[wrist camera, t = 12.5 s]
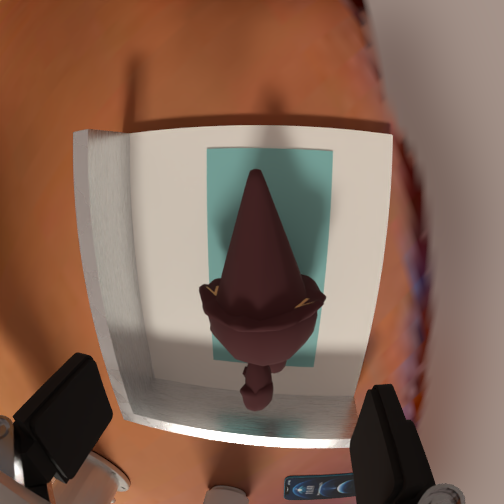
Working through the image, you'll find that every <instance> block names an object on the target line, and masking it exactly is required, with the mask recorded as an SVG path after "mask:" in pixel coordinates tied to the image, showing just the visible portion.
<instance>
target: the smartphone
mask: <svg viewBox="0 0 504 504" xmlns="http://www.w3.org/2000/svg"><path fill="white" fill-rule="evenodd" d="M352 496H356V493H355V485H354V477H353V473H347V474H335V475H310V476H289V477H286V478H285V483H284V498H285V499H287V500H314V499H331V498H342V497H352Z"/></svg>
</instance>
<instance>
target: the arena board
mask: <svg viewBox="0 0 504 504" xmlns="http://www.w3.org/2000/svg"><path fill="white" fill-rule="evenodd" d="M392 139H393V135H391V134H383V133H375V132H367V131H358V130H348V129H336V128H323V127H306V126H278V125H235V126H207V127H190V128H176V129H165V130H155V131H146V132H137V133H130V186H131V207H132V223H133V236H134V247H135V257H136V266H137V275H138V283H139V290H140V298H141V304H142V311H143V317H144V323H145V329H146V335H147V341H148V346H149V351H150V356H151V361H152V366H153V371H154V375H155V378H159V379H164V380H169V381H174V382H180V383H186V384H192V385H198V386H205V387H212V388H220V389H228V390H237V391H240V389H241V388H242V386H243V385H244V384H245V377H244V375H243V374H242V373H243V371H244V368H245V366H247V365H248V363H246V362H243V361H240V360H237V359H235V358H234V357H233V356H232V355H231V354H230V353H229V352H228V351H227V349H226V348H225V347H224V346H223V345H222V344H221V343H220V342H219V340H218V339H217V338H216V337H215V336H214V335H213V334H212V332H211V331H210V322H209V318H208V316H207V315H206V314H205V313H204V311H203V308H202V300H201V297H200V293H199V287H200V286H201V285H203V284H209V283H210V282H212V281H213V280H214V279H217V278H221V275H222V272H223V268H224V264H225V260H226V256H227V252H228V249H229V245H230V241H231V237H232V234H233V230H234V226H235V222H236V219H237V215H238V211H239V208H240V204H241V200H242V196H243V193H244V189H245V185H246V182H247V178H248V175H249V172H250V170H253V169H259V170H261V171H262V174H263V176H264V178H265V181H266V183H267V186H268V188H269V191H270V194H271V196H272V199H273V202H274V204H275V207H276V210H277V212H278V215H279V217H280V220H281V223H282V225H283V228H284V230H285V233H286V236H287V238H288V241H289V244H290V246H291V249H292V251H293V254H294V257H295V260H296V262H297V265H298V268H299V270H300V273H301V274H303V275H307V276H309V277H311V278H312V279H313V280H314V281H315V282H316V284H317V285H318V287H319V289H320V291H321V292H322V293H323V294H324V295H325V296H326V300H325V301H324V305H323V306H322V307H321V308H320V309H318V310H317V315H318V316H317V320H316V324H315V328H314V332H313V333H312V335H311V336H310V337H309V339H308V340H307V342H306V343H305V344H304V345H303V346H302V347H301V348H300V349H299V350H298V351H297V352H296V353H295V354H294V355H293V356H292V357H291V358H290V359H288V360H287V362H286V365H285V367H284V368H283V370H282V371H280V372H278V373H275V374H274V373H271V375H272V382H273V389H274V390H273V394H285V395H308V396H354V393H355V390H356V386H357V383H358V379H359V376H360V372H361V368H362V364H363V360H364V356H365V352H366V348H367V344H368V340H369V335H370V331H371V326H372V321H373V316H374V311H375V306H376V301H377V295H378V290H379V284H380V278H381V271H382V265H383V258H384V250H385V243H386V234H387V225H388V215H389V203H390V190H391V173H392Z"/></svg>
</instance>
